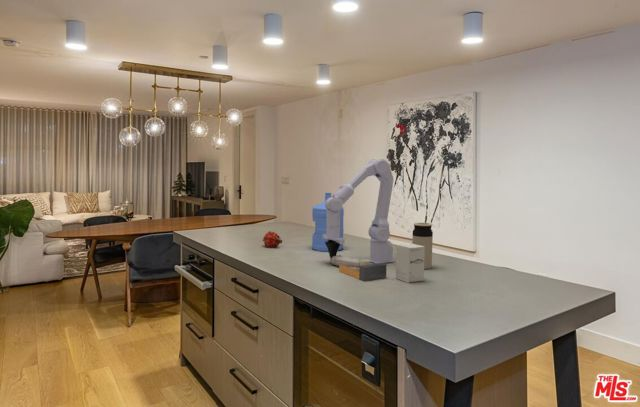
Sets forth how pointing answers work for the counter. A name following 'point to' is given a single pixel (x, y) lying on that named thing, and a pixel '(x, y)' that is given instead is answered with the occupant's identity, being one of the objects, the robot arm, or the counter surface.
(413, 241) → the travel mug
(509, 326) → the counter surface
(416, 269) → the supplement box
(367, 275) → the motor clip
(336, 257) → the electric toothbrush
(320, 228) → the water jug
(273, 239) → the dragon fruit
